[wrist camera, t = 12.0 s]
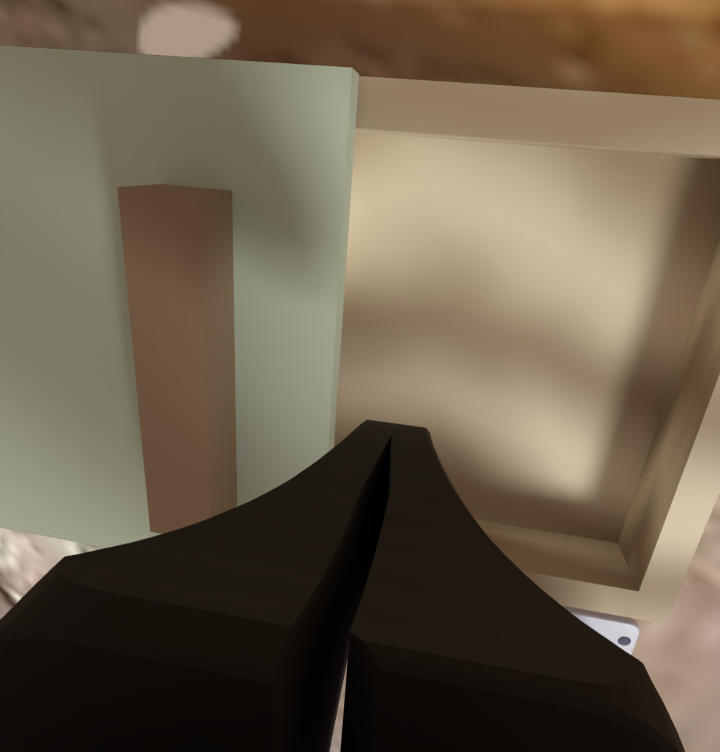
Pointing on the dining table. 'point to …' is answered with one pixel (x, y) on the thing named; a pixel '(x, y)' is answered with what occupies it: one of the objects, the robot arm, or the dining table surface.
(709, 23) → the dining table surface
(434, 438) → the toolbox
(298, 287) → the lid
